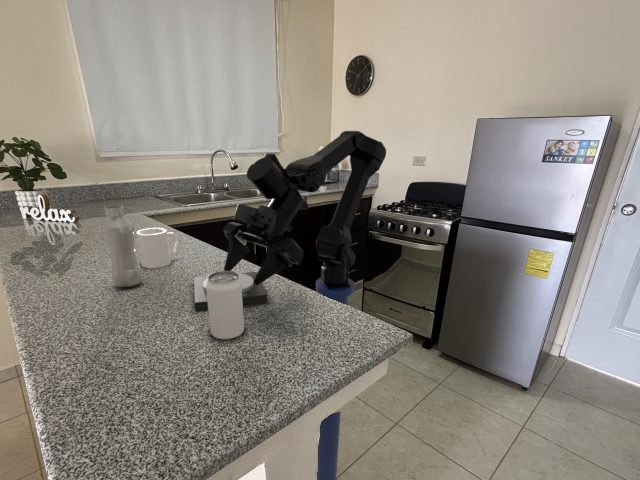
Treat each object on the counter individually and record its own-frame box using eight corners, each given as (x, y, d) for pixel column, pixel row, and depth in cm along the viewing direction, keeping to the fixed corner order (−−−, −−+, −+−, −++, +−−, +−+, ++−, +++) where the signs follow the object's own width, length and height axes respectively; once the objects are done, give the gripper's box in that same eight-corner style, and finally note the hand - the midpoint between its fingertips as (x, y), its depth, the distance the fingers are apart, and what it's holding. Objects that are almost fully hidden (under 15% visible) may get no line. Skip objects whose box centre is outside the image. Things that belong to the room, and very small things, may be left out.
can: (247, 337, 68) (243, 280, 63) (212, 343, 66) (206, 285, 61) (241, 321, 73) (237, 268, 69) (209, 326, 71) (203, 272, 66)
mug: (145, 270, 99) (139, 236, 95) (138, 261, 105) (132, 230, 101) (187, 262, 106) (184, 230, 102) (178, 254, 112) (174, 224, 108)
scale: (256, 279, 95) (256, 268, 94) (267, 302, 82) (267, 290, 80) (195, 285, 90) (193, 273, 89) (195, 311, 77) (194, 298, 76)
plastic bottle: (116, 281, 91) (99, 205, 83) (144, 278, 93) (131, 203, 85) (112, 291, 85) (94, 210, 78) (142, 288, 88) (128, 208, 80)
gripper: (227, 182, 71) (184, 245, 67) (293, 193, 60) (245, 270, 56) (258, 215, 80) (221, 272, 76) (321, 230, 68) (281, 298, 65)
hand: (239, 277), depth 68 cm, fingers open, 9 cm apart
